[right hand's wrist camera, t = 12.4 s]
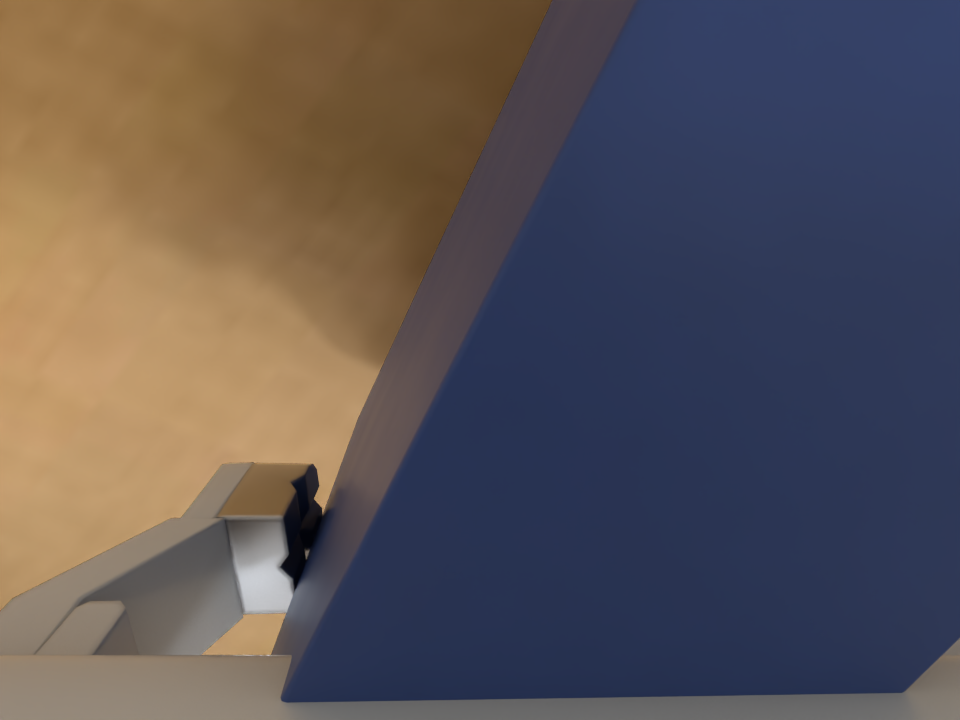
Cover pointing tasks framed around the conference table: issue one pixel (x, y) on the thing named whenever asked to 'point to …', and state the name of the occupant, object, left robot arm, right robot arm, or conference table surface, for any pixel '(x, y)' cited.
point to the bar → (670, 377)
